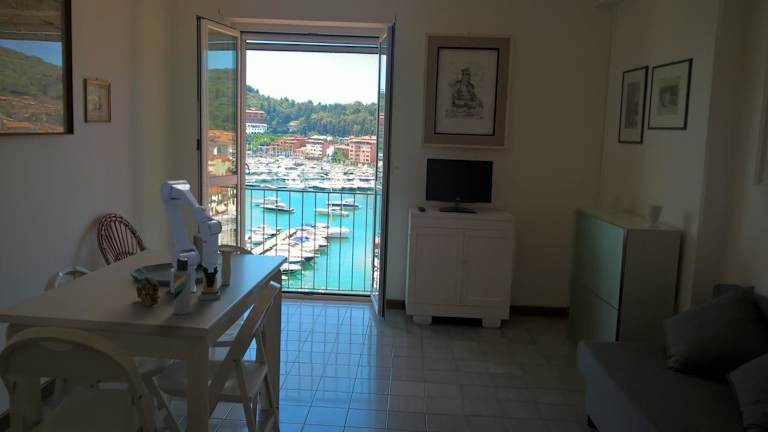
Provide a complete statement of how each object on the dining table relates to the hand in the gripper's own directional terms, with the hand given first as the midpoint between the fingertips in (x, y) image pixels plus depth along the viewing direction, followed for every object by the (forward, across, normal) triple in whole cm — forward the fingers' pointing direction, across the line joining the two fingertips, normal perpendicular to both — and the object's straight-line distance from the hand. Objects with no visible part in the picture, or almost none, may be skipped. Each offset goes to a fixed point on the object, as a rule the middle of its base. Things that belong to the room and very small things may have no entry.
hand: (210, 286), depth 235 cm
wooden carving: (+5, -6, +22) cm, 23 cm away
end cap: (+4, 0, 0) cm, 4 cm away
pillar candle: (+5, +58, +1) cm, 59 cm away
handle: (+5, +18, -7) cm, 20 cm away
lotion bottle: (+5, -18, +10) cm, 21 cm away
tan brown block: (+2, 0, 0) cm, 2 cm away
